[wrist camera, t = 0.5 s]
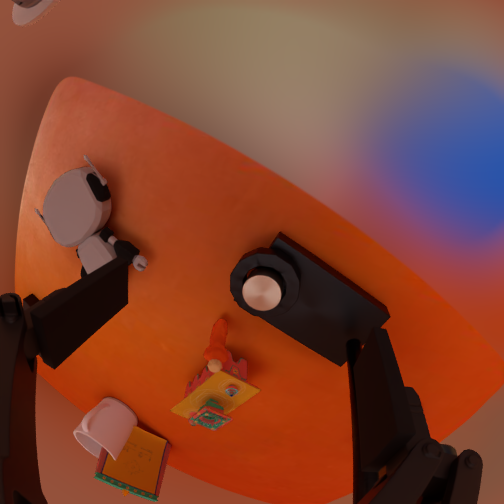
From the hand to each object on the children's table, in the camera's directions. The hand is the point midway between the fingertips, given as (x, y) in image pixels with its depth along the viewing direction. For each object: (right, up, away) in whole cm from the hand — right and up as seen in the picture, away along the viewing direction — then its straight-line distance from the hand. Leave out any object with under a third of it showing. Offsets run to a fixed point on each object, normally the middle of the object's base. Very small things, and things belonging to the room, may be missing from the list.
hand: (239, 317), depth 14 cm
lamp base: (+7, -2, +16) cm, 17 cm away
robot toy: (-18, +6, +19) cm, 27 cm away
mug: (-24, -26, +31) cm, 47 cm away
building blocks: (-10, -19, +24) cm, 32 cm away
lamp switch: (+2, 0, +12) cm, 13 cm away
